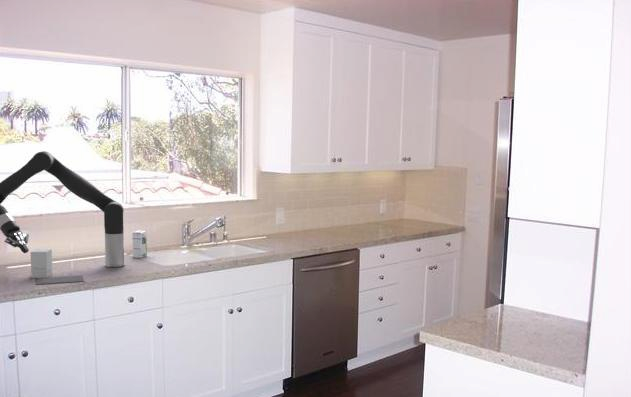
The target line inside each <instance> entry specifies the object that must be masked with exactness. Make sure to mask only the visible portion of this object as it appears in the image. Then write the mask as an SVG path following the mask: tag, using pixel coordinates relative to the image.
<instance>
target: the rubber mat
mask: <svg viewBox="0 0 631 397" xmlns="http://www.w3.org/2000/svg"><path fill="white" fill-rule="evenodd" d="M70 283H84V275H66V276H49V277H46V278H36V281H35V286H41V285H53V284H56V285H57V284H70Z"/></svg>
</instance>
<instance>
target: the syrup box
mask: <svg viewBox="0 0 631 397" xmlns="http://www.w3.org/2000/svg"><path fill="white" fill-rule="evenodd" d="M131 233H132V235H131V236H132V238H131V239H132V241H131V242H132V257H133V258H135V259H136V258H138V259H140V258H141V259H142V258H144V257H147V255H148V254H147V253H148V251H147V247H148V246H147V231H146V230H136V231H132V232H131Z"/></svg>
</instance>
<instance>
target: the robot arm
mask: <svg viewBox="0 0 631 397" xmlns="http://www.w3.org/2000/svg"><path fill="white" fill-rule="evenodd" d="M43 171H45V172H47V173H49V174H50V175H52V176H53V177H55V178H56V179H57V180H59V182H60V183H61V184H62V185H63V187H65V189H67V190H69V191H70V192H71V193H73V195H75V196H77V197H78V198H80V199H82V200H84V201H85V202H88V203H90V204H91V205H93V206H96V207H97V208H98V209H99V210H100V211H102V212H103V216H104V217H103V220H104V221H103V222H104V224H103V228H104V260H105V261H104V266H105V267H108V268H119V267H124V266H125V247H124V246H125V245H124V242H125V241H124V237H125V236H124V231H125V230H124V211H125V210H124V206H123V205H122V204H121V203H120V202H119V201H116V200H115V199H113V198H111V197H109V196H108V195H106V194H105V193H103V192H102V191H101V190H99V189H98V187H97V186H95V185H93V184H92V182H90V181H89V180H87V179H86V178H84V177H83V176H81V175H80V174H79V173H77V172H75V171H74V170H72V169H70V168H69V167H67V166H66V165H64V164H63V163H62V162H60V160H59V159H57V158H56V157H55V156H54V155H52V153H50V152H48V151H44V150H43V151H39V152H37V153H35V154H33V156H32V157H31V158H30V160H29V161H27V163H25V164H24V165H23V166H22V167H21V168H19V169H18V170H17V171H15V172H14V173H12V174H10V175H9V176H7V177H5V179H3V180H2V181H1V182H0V231H1V233H2V234H3V235H4V237H6V238H5V240H4V243H6V244H7V245H10V246H11V247H14V248H18V249H19V250H20V251H21V252H22V253H23V254H27V253H29V249H30V248H28V246H27V244H28V243H29V236H30V235H29V234H28V233H26V234H25V233H24V232H22V231H21V228H20V226H19V224H18V222H16V220H15V218H14V217H13V216H12V215H11V213H10V212H9V211H8V209H7V208H6V207H5V206H3V205H2V203H3V202H4V201H5V200H6V199H7V198H8V196H9V195H11V194H13V193H14V191H16V190H18V188H20V187H21V186H22V185H23V184H24V183H26V182H27V181H28V180H30V179H31V178H32V177H34V176H35V175H37V174H39V173H41V172H43Z"/></svg>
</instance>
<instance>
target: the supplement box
mask: <svg viewBox="0 0 631 397" xmlns="http://www.w3.org/2000/svg"><path fill="white" fill-rule="evenodd" d="M29 254H30V272H31V279H37V278H46V277H52V275H53V274H54V273H53V251H52V248H49V249H48V248H47V249H46V248H38V249H34V250H32V251H30V253H29Z"/></svg>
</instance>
